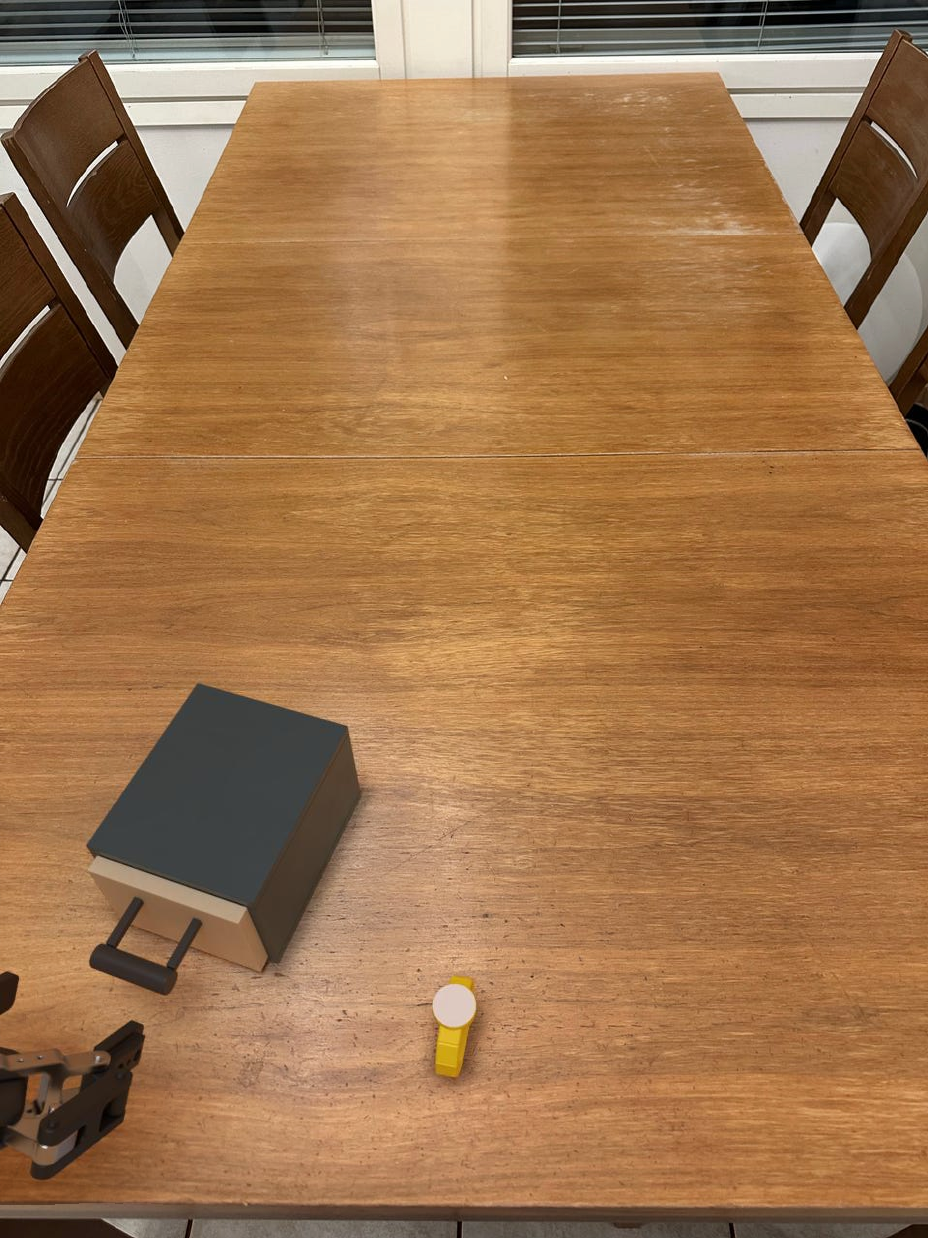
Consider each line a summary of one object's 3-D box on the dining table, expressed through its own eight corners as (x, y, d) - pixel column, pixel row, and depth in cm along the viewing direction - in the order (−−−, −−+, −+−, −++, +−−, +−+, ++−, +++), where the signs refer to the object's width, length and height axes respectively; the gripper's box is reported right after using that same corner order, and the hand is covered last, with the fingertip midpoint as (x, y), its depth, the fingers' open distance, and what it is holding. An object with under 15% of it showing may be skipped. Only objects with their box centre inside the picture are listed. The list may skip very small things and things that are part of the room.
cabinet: (278, 964, 67) (252, 903, 60) (126, 909, 70) (85, 845, 63) (361, 795, 76) (348, 725, 69) (224, 753, 79) (197, 682, 72)
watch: (468, 1091, 61) (466, 1062, 57) (426, 1083, 62) (421, 1053, 57) (484, 999, 65) (484, 965, 61) (445, 992, 65) (442, 957, 61)
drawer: (225, 1043, 63) (197, 999, 57) (80, 986, 65) (40, 939, 60) (341, 811, 74) (328, 755, 68) (214, 771, 77) (191, 714, 71)
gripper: (-324, 1196, 41) (-38, 1030, 57) (-61, 1333, 38) (167, 1117, 53) (-297, 1034, 41) (-15, 912, 56) (-27, 1159, 37) (193, 992, 53)
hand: (73, 1012), depth 55 cm, fingers open, 8 cm apart
